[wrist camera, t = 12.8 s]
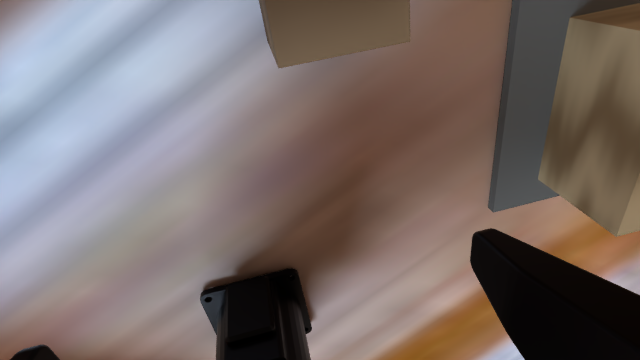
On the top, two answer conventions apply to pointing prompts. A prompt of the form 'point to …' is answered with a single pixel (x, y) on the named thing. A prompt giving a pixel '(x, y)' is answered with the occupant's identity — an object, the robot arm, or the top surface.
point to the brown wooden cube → (332, 27)
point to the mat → (531, 95)
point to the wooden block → (598, 120)
